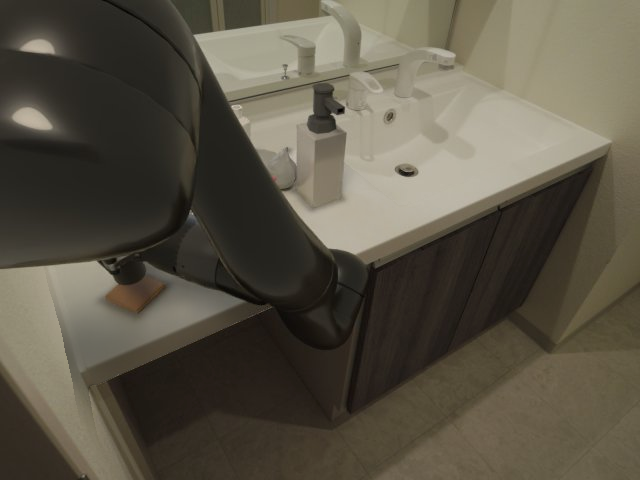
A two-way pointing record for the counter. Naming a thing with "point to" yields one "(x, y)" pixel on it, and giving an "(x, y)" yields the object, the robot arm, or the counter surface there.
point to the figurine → (282, 169)
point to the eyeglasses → (266, 155)
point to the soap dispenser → (321, 150)
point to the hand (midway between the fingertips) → (91, 211)
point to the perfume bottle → (242, 118)
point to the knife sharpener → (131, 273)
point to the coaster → (135, 294)
